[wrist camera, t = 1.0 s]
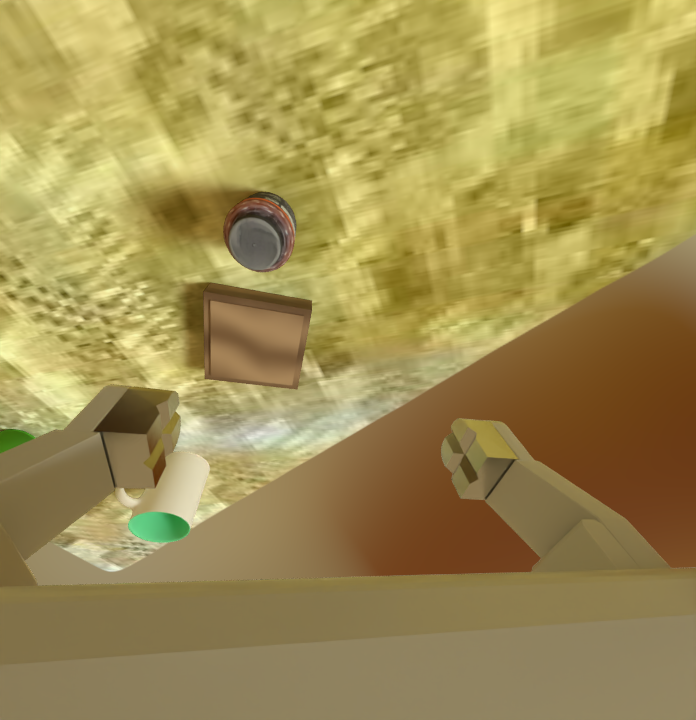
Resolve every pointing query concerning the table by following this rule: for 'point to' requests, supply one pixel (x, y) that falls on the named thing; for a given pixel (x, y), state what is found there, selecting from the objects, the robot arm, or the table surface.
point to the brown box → (254, 336)
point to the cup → (13, 439)
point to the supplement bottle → (260, 232)
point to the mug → (168, 499)
